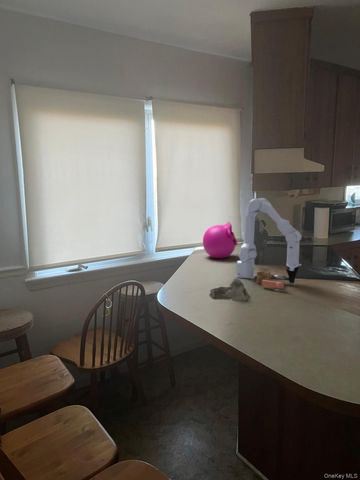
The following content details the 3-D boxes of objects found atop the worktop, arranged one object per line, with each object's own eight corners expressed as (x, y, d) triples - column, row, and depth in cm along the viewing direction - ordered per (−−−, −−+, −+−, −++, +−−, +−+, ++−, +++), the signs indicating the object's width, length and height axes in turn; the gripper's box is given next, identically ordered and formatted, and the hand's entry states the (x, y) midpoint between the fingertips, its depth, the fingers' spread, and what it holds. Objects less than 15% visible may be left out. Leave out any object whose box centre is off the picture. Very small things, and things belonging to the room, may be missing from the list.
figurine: (239, 261, 233) (240, 224, 229) (203, 261, 233) (203, 224, 229) (234, 254, 256) (235, 220, 252) (202, 254, 256) (202, 220, 252)
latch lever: (282, 290, 165) (282, 283, 164) (261, 286, 171) (261, 280, 170) (284, 288, 168) (284, 282, 167) (263, 284, 173) (263, 279, 173)
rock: (250, 292, 163) (248, 275, 158) (249, 307, 154) (247, 289, 149) (212, 292, 168) (209, 276, 163) (209, 307, 159) (206, 290, 154)
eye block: (256, 283, 179) (257, 271, 178) (258, 279, 186) (259, 268, 185) (268, 284, 177) (269, 272, 176) (270, 280, 184) (270, 269, 183)
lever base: (273, 291, 166) (273, 289, 166) (274, 288, 171) (274, 286, 171) (284, 292, 164) (284, 290, 164) (285, 289, 169) (285, 287, 169)
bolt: (270, 283, 178) (271, 272, 178) (271, 281, 182) (271, 270, 181) (294, 285, 174) (294, 274, 174) (294, 283, 178) (294, 272, 177)
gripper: (300, 258, 166) (299, 286, 168) (301, 253, 180) (300, 278, 182) (285, 257, 169) (284, 284, 171) (287, 252, 182) (286, 277, 184)
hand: (291, 281), depth 176 cm, fingers closed on bolt, 4 cm apart
